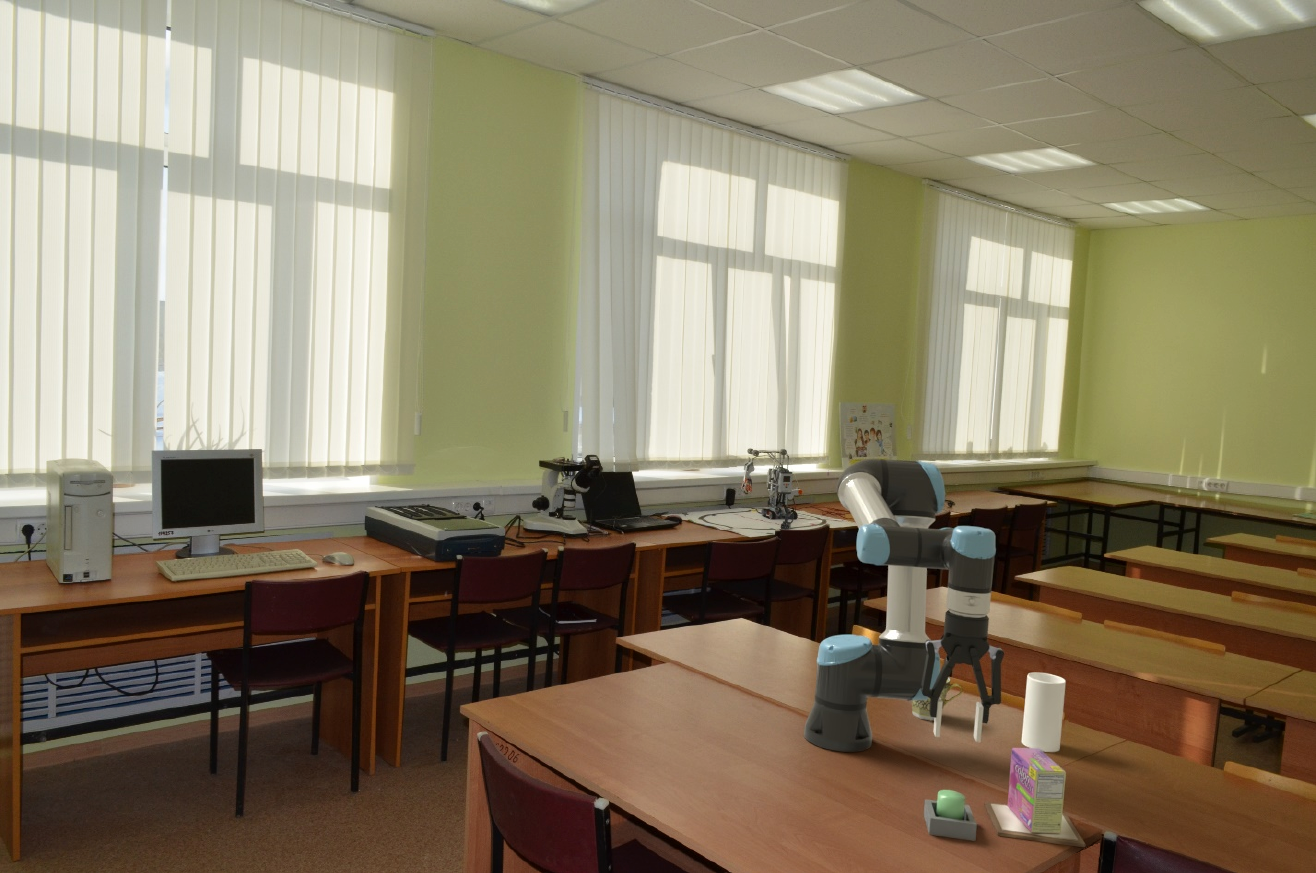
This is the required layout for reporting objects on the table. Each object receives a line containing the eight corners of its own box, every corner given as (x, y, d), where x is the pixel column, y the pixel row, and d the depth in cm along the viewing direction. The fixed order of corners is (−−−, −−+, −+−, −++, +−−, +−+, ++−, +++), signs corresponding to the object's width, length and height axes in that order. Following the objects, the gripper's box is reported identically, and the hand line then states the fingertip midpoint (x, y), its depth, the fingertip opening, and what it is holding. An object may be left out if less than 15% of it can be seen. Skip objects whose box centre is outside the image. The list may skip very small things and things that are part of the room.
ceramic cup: (903, 718, 227) (906, 678, 227) (908, 706, 236) (911, 668, 236) (958, 728, 222) (961, 688, 222) (961, 716, 232) (964, 677, 231)
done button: (937, 823, 167) (939, 799, 167) (934, 812, 172) (936, 788, 171) (965, 827, 166) (967, 803, 166) (960, 815, 171) (963, 791, 171)
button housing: (929, 834, 166) (930, 818, 166) (923, 814, 174) (925, 799, 173) (975, 841, 164) (976, 824, 164) (967, 820, 172) (969, 805, 172)
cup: (1063, 754, 210) (1069, 685, 209) (1025, 749, 212) (1031, 680, 211) (1055, 741, 218) (1061, 675, 217) (1018, 736, 220) (1024, 670, 219)
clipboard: (997, 835, 167) (998, 829, 167) (984, 804, 180) (984, 799, 180) (1085, 847, 165) (1085, 841, 165) (1065, 815, 178) (1065, 809, 178)
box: (1005, 806, 177) (1011, 746, 176) (1034, 807, 178) (1040, 748, 177) (1030, 833, 167) (1036, 770, 166) (1060, 834, 167) (1067, 771, 166)
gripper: (914, 611, 165) (904, 737, 166) (1028, 623, 162) (1016, 751, 163) (910, 602, 172) (900, 723, 173) (1018, 613, 169) (1007, 736, 170)
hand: (956, 736), depth 168 cm, fingers open, 6 cm apart
